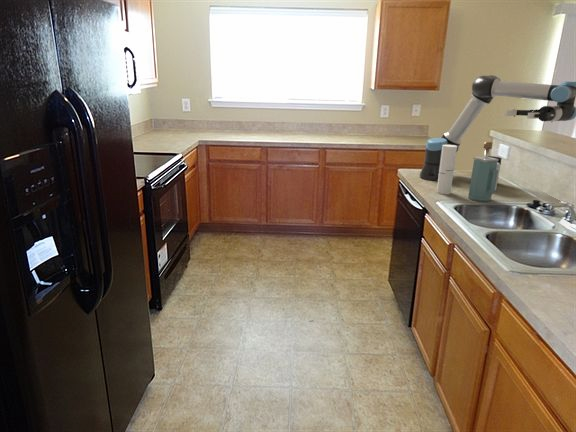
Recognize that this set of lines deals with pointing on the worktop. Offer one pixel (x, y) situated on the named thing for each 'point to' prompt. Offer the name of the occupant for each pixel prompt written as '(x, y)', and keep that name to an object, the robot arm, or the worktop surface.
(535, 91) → the robot arm
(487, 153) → the plunger
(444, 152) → the cylindrical container
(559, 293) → the worktop surface
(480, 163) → the press pot
